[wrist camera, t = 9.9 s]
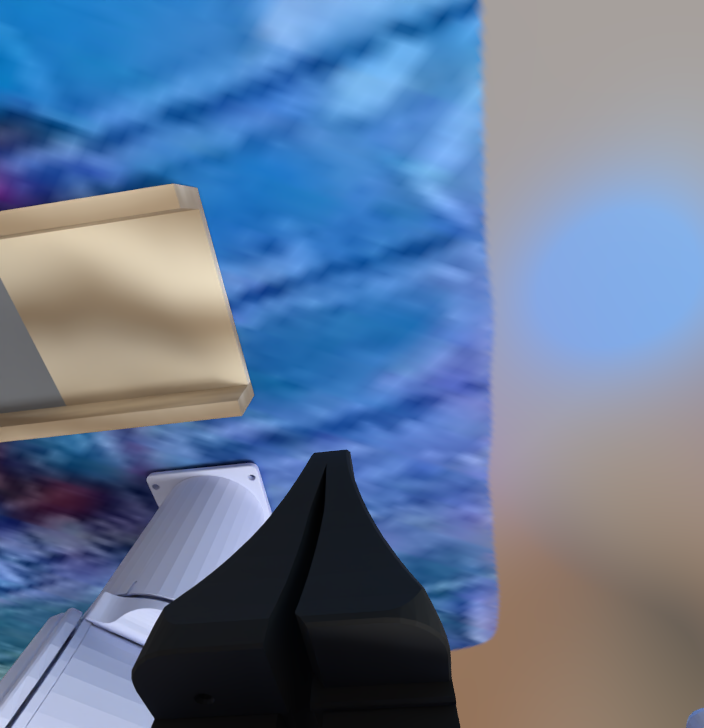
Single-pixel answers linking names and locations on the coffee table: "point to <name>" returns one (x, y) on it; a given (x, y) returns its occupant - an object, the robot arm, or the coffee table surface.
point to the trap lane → (114, 317)
